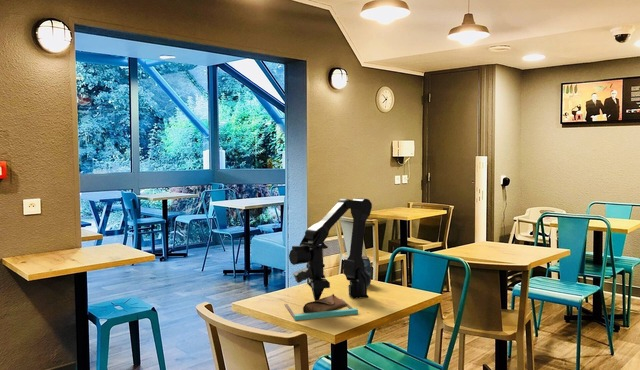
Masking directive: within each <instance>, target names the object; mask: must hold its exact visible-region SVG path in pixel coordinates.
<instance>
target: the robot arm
mask: <svg viewBox="0 0 640 370" xmlns="http://www.w3.org/2000/svg"><path fill="white" fill-rule="evenodd" d="M372 207H373V203H372V202H371V200H370V199H369V198H363V197H362V198H360V197H355V198H353V199H349V198H340V199H339V200H337V203H335V205H334V206H333V207H332V208H331V209H330V210H329V211H328V212H327V213H326V215H324V216H323V218H322V219H321V220H320V221H318V222H316V223H314V224H312V225H311V226H310V227H308V228H307V229H306V230H305V232H304V236H303V238H302V239H301V241H300V242H299V245H292V247H291V250H289V254H288V259H289V262H290V264H291V265H292V266H296V265H302V264H306V267H303V268H301V269H299V270H297V271H294V272H293V273H292V275H293V277H294V279H295V282H296V283H297V284H300V283H302V282H303V281H307V279H308V282H306V284H307V285H308V286H309V287H310V288H311V292H312V295H313V300H314V301H316V300H319V299H321V298H322V297H321V296H322V294H323V292H324V290H325V289H330V288H331V282H330V281H329V280H328V279H326V275H325V274H324V272H325V271H324V268H325V265H326V264H324V250H326V249H328V248H329V246H327V245H326V243H324V242H325V241H326V239H327V238H328V236H329V233H330V230H331V229H332V228H333V226H335V225H336V223H337V222H338V221H339V220H340V219H341V218H342V217H343V216H344V215H345V213H347V211H348V210H350V214H351V217H352V220H353V222H352V230H351V240H350V247H349V248H350V250H349V255H348V257H347V259H346V258H344V259H343V262H342V263H343V265H342V270H343V275H344V276H345V278H346V281H348V282H349V284H348V285H347V286H348V296H349V297H351V298H352V299H353V300H354V299H355V300H356V299H363V298H364V299H365V298H366V299H367V298H369V295H368V288H367V287H368V286H367V282H369V281H370V276H369V275H368V274H367V273H366V272H365V264H364V261H363V259H362V257H363V249H364V241H365V232H366V231H365V230H366V222H367V220H368V218H369V217H370V216H371V212H372Z"/></svg>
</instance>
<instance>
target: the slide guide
mask: <svg viewBox="0 0 640 370" xmlns="http://www.w3.org/2000/svg"><path fill="white" fill-rule="evenodd" d="M339 299H340V300H342V301H343V302H345V303H346V304H348V302H347V301H345V300H344V299H343V298H339ZM284 306H285V308H286V310H287V311H288V313H290V316H291V317H292V318H293V320H294V321H301V320H303V321H304V320H312V319H323V318H332V317H333V318H334V317H341V316H348V315H349V316H350V315H358V314H359V309H358V308H355V307H354V308H353V307H352V306H351V305H350V304H348V305H346V306H345V307H347V309H346V308H345V309H336V310H334V311H324V312H314V313H304V312H303V313H296V314H295V313H294V312H293V310H292V308H291V307H290V306H289V304H288V303H285V304H284Z"/></svg>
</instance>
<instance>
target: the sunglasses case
mask: <svg viewBox="0 0 640 370" xmlns="http://www.w3.org/2000/svg"><path fill="white" fill-rule="evenodd" d="M340 299H341V298H339V297H337V295H335V293H332V294H331V295H329V296H325V297H321V298H320V299H319V300H316V301H315V300H314V301H310V302H306V303H305V304H304V305H303V308H302V312H303V314H304V313H314V312H324V311H334V310H340V309H342V308H345V307H347V306H346V305H349V303H347V302H346V301H345V302H346V303H347V304H346V303H345V302H343V301H342V300H340Z"/></svg>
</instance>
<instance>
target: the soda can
mask: <svg viewBox="0 0 640 370" xmlns="http://www.w3.org/2000/svg"><path fill="white" fill-rule="evenodd" d="M362 259H363V261H364V264H365V272H366V273H367V274H368V275H369V276H370V281H369V282H367V287H368V286H370V284H371V283H372V276H371V275H372V273H371V272H372V271H371V270H372V269H371V259H370V257H369V256H362Z"/></svg>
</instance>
